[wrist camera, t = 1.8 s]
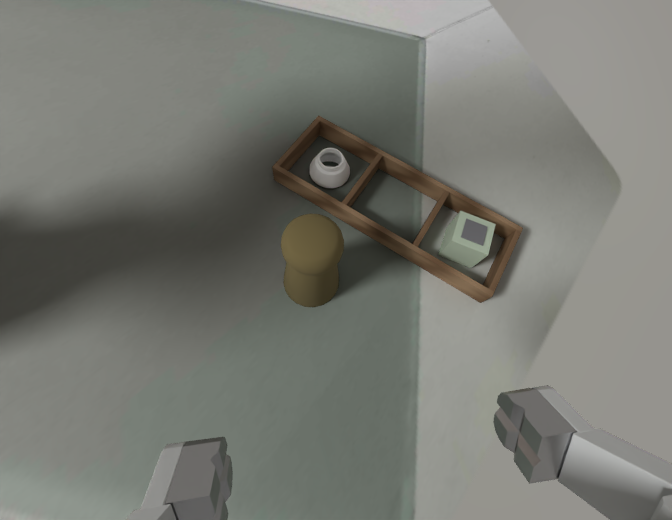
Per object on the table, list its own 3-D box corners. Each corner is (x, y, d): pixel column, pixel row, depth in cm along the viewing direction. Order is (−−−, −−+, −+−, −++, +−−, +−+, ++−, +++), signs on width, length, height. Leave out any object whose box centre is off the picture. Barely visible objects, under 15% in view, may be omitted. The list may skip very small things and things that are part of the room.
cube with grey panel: (437, 255, 38) (452, 240, 35) (446, 227, 40) (461, 209, 36) (470, 268, 38) (488, 254, 34) (478, 239, 40) (496, 223, 36)
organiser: (274, 179, 40) (272, 167, 38) (317, 130, 44) (318, 115, 42) (480, 302, 36) (492, 296, 34) (510, 237, 40) (523, 228, 38)
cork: (335, 252, 37) (346, 199, 27) (342, 304, 35) (356, 268, 25) (282, 256, 37) (272, 203, 27) (285, 309, 34) (275, 274, 24)
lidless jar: (318, 152, 43) (303, 181, 41) (319, 135, 40) (302, 166, 38) (354, 165, 42) (340, 195, 41) (357, 149, 40) (343, 181, 38)
